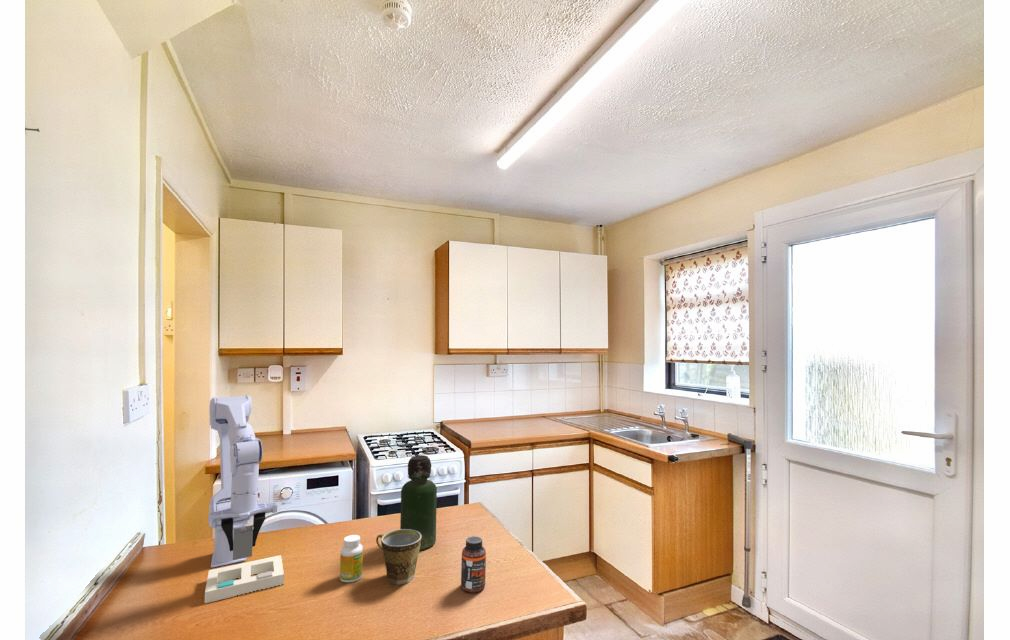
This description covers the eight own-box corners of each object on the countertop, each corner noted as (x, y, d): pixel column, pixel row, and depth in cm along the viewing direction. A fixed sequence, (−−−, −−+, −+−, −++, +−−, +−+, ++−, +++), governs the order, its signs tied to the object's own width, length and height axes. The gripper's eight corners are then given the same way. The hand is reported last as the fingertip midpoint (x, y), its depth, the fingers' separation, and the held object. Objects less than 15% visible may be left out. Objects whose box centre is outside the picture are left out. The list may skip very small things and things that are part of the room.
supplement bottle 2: (472, 597, 103) (473, 547, 103) (455, 587, 107) (456, 539, 107) (490, 586, 107) (491, 539, 108) (473, 577, 111) (474, 532, 112)
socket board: (208, 580, 109) (208, 568, 109) (280, 564, 117) (281, 553, 117) (204, 603, 99) (205, 590, 99) (283, 584, 107) (283, 572, 107)
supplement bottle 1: (355, 584, 108) (356, 543, 108) (335, 581, 109) (336, 541, 109) (366, 573, 113) (367, 534, 113) (347, 570, 114) (348, 532, 114)
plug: (232, 553, 108) (234, 527, 109) (251, 549, 110) (252, 523, 111) (232, 560, 105) (233, 533, 105) (252, 556, 107) (253, 529, 107)
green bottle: (394, 541, 131) (396, 456, 132) (426, 532, 137) (427, 451, 138) (408, 555, 123) (410, 464, 124) (442, 545, 129) (443, 458, 130)
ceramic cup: (428, 572, 113) (429, 533, 114) (404, 592, 104) (405, 549, 105) (388, 561, 119) (389, 524, 119) (362, 579, 110) (363, 538, 110)
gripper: (208, 501, 101) (205, 561, 101) (278, 490, 109) (276, 546, 108) (210, 491, 107) (207, 548, 107) (276, 482, 115) (275, 535, 114)
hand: (242, 547), depth 108 cm, fingers closed on plug, 4 cm apart
